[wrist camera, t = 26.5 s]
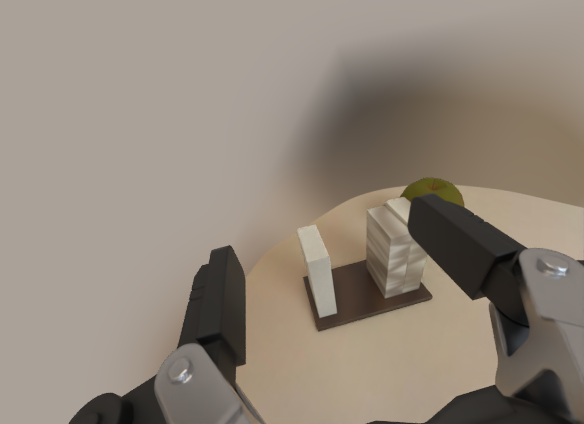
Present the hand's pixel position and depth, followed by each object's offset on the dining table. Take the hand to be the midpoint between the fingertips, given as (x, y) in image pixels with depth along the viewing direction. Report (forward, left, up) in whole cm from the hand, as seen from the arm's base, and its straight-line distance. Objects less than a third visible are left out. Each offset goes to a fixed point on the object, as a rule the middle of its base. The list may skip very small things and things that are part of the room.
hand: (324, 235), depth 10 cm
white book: (-5, +11, -24) cm, 27 cm away
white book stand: (0, +14, -25) cm, 29 cm away
